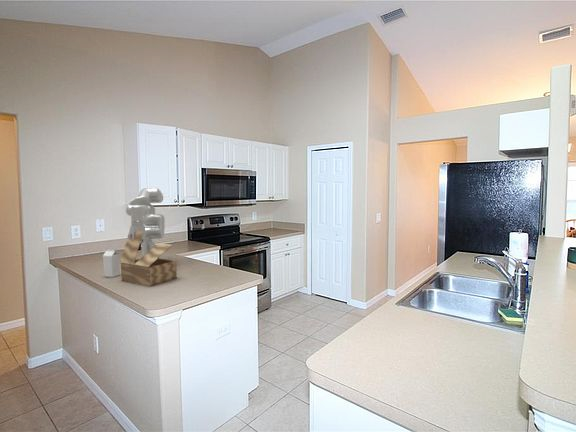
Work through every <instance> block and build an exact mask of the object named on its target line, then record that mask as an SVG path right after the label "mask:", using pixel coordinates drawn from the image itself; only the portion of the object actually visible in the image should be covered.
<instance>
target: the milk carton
mask: <svg viewBox="0 0 576 432" xmlns="http://www.w3.org/2000/svg"><path fill="white" fill-rule="evenodd" d="M102 262H103V264H102V265H103V268H102V269H103V277H105V278H106V277H107V278H114V277H117V276H120V275H121V273H120V272H121V271H120V270H121V267H120V254H119V253H118V252H117V251H116V249H113V248H112V249H108V248H107V249H106V250H105V252H104V254H103V255H102Z"/></svg>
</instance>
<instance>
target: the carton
mask: <svg viewBox="0 0 576 432" xmlns="http://www.w3.org/2000/svg"><path fill="white" fill-rule="evenodd" d="M140 259H141V258H138V259H137V258H136V260H135V263H136V262H137V261H138V260H140ZM135 263H134V264H135ZM120 270H121V271H120V272H121V273H120V275H121V281H122V282H123V281H124V282H128V283H132V284H137V285H142V286H144V287H145V286H146V287H153V286H156V285H158V284H162V283H164V282H167V281H171V280H174V279H178V277H177V273H178V272H177V260H172V259H166V258H161V257H159V258H158V259H157V260H156V261H155V262H154V263H152V264H151V265H150V266H149V267H144V266H138V265H133V264H127V263H121V262H120Z"/></svg>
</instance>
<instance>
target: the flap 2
mask: <svg viewBox="0 0 576 432" xmlns="http://www.w3.org/2000/svg"><path fill="white" fill-rule="evenodd" d="M172 246H173V245H172V244H168V243H162V242H161V243H160V242H158V243H156V244H155V246H154V247H153V248H152V249H151V250H150V251H149V252H147V253H146V254H145V255H144V256H141V257H140V258H139V259H140V260H138V261H137V262H136V263H135V264H134V265H138V266H144V267H149V266H150V265H151V264H152V263H154V262H155V261H156V260H157V259H158V258H161V256H162V255H163V254H165V252H166V251H168V250H169V249H170V248H171V247H172Z"/></svg>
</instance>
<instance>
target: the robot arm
mask: <svg viewBox="0 0 576 432" xmlns="http://www.w3.org/2000/svg"><path fill="white" fill-rule="evenodd" d="M163 201H164V195H163V193H162V191H161V190H160V189H159V188H156V187H153V188H151V187H150V188H149V187H148V188H141V190H140V192H139V195H138V196H137V197H135V198H132V199H131V200H130V201H128V203H127V205H126V207H125V208H126V209H125V213H126V215H127V216H129V217H130V216H131V217H130V220H131V221H130V222H131V225H130V226H129V232H128V234H129V240H130V238H131V241H132V239H134V237H135V234H136V231H140V232H143V235H142V238H141V242H140V245H139V249H138V252H139V251H141V250H142V251H141V253H142V255H141V257H143V256H144V255H145V254H146V253H147V252H149V251H150V250H151V249H152V248H153V247H154V246H155V245H156V243H155V241H154V240H155V239H157V240H159V239H163V238H164V237H165V226H166V225H165V224H166V223H165V221H166V219H165V216H164V214H161V213H156V208H155V207H154V205H152V204H153V203H154V204H157V203H158V204H159V203H160V204H161V203H162V202H163Z"/></svg>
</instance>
